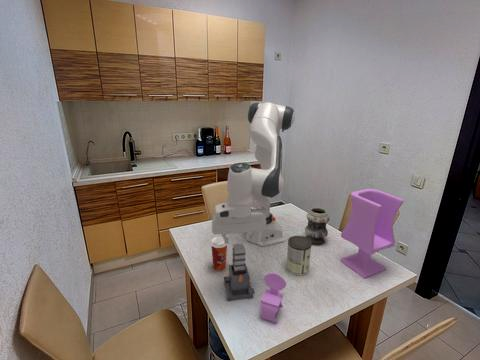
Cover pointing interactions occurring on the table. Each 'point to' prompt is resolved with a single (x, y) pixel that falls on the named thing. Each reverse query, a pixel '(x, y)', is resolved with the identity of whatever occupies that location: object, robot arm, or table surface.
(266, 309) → the toy chair
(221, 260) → the paper cup
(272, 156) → the robot arm
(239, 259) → the column
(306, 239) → the coffee can
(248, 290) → the stand
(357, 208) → the purple pedestal armchair
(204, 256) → the table surface
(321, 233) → the apothecary jar
